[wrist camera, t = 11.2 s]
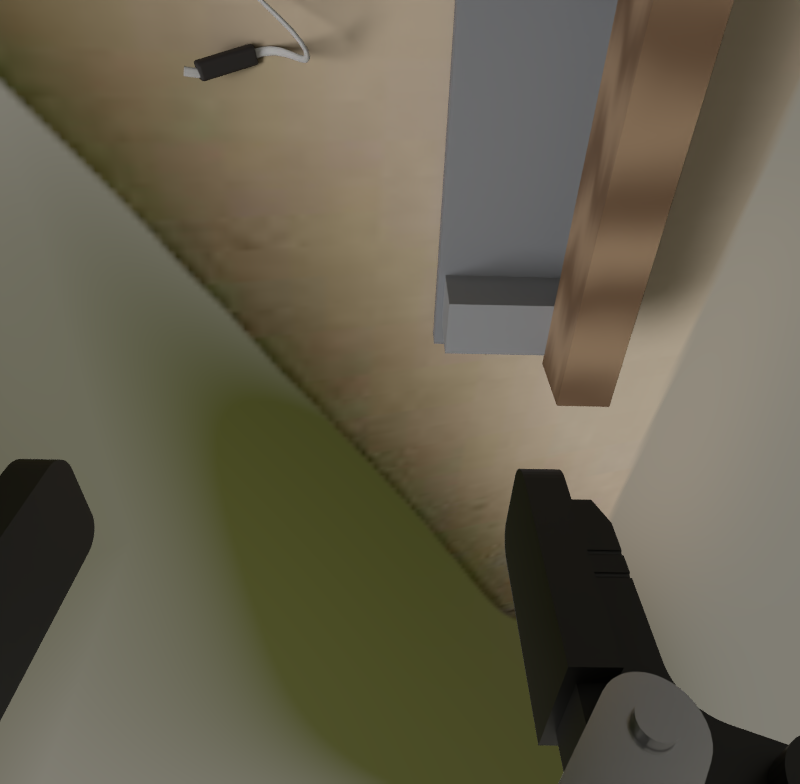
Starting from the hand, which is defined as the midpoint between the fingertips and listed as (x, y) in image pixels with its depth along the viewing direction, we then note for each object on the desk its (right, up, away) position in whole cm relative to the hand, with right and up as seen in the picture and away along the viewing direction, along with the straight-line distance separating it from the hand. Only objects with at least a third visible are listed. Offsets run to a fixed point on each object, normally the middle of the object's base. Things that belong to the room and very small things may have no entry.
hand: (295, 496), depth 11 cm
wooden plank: (+14, +15, +24) cm, 32 cm away
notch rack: (+11, +19, +29) cm, 36 cm away
